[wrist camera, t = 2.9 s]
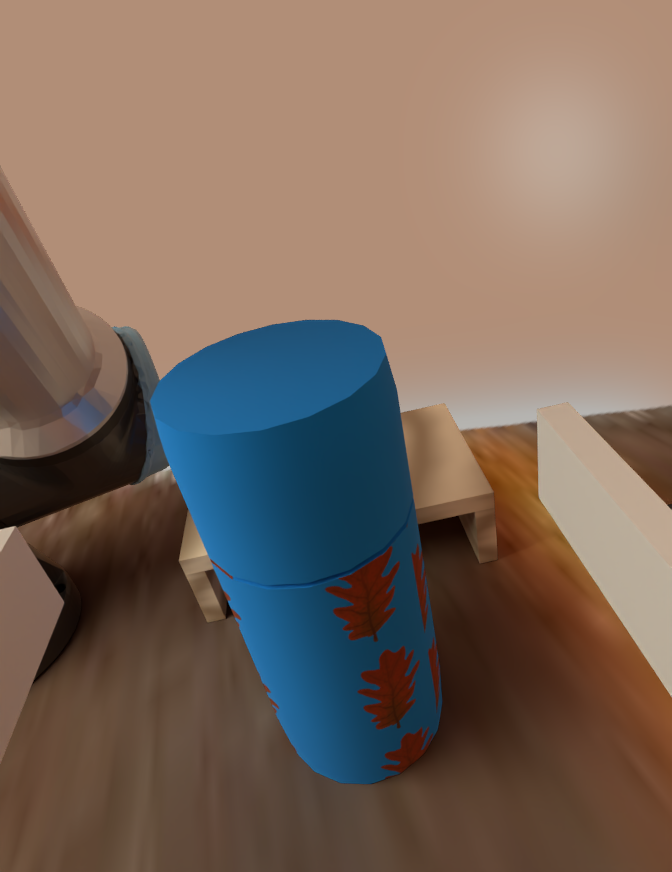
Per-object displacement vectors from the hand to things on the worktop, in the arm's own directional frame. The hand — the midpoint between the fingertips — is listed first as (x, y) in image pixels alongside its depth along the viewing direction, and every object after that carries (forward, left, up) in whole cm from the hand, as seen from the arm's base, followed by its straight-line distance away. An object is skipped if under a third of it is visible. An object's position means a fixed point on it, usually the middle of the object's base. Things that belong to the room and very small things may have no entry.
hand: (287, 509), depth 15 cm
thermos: (-7, +10, -27) cm, 29 cm away
